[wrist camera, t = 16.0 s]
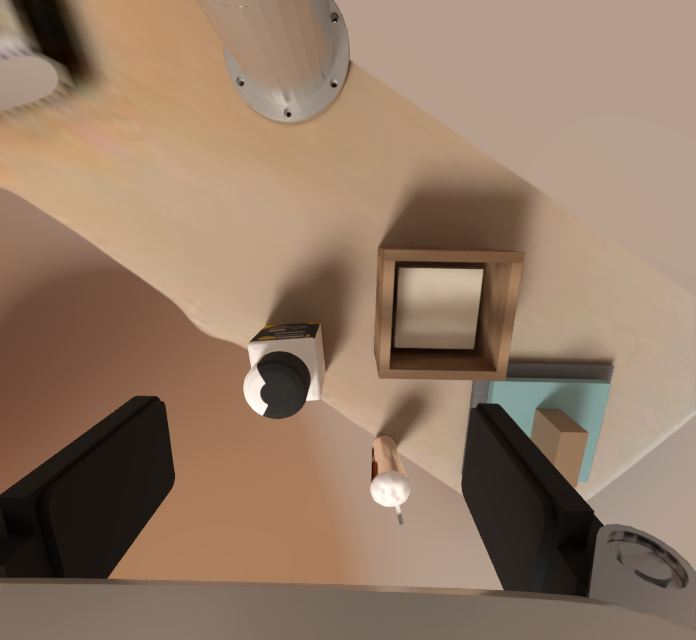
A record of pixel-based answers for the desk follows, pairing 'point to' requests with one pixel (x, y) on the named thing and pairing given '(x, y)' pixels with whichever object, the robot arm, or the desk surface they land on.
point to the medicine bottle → (285, 369)
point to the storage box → (445, 312)
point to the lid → (557, 418)
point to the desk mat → (541, 371)
